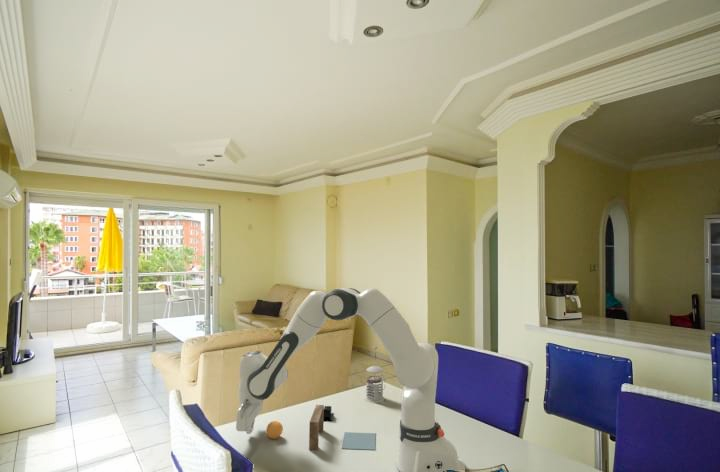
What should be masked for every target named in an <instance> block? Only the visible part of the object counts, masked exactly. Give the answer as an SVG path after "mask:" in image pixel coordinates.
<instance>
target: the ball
mask: <svg viewBox="0 0 720 472" xmlns="http://www.w3.org/2000/svg"><path fill="white" fill-rule="evenodd" d="M265 431H266V435H267V437H269V438H270V439H278V438H279V437H281V435H282V434H283V431H284V430H283V425H282V423H281V422H280V421H279V420H272V421H271V422H269V423H268V424H267V427H266V430H265Z"/></svg>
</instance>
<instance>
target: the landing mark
mask: <svg viewBox="0 0 720 472" xmlns="http://www.w3.org/2000/svg"><path fill="white" fill-rule="evenodd" d="M341 450H361V451H362V450H365V451H376V433H374V432H372V433H371V432H350V431H349V432H348V431H345V432H344V433H343V439H342V445H341Z"/></svg>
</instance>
